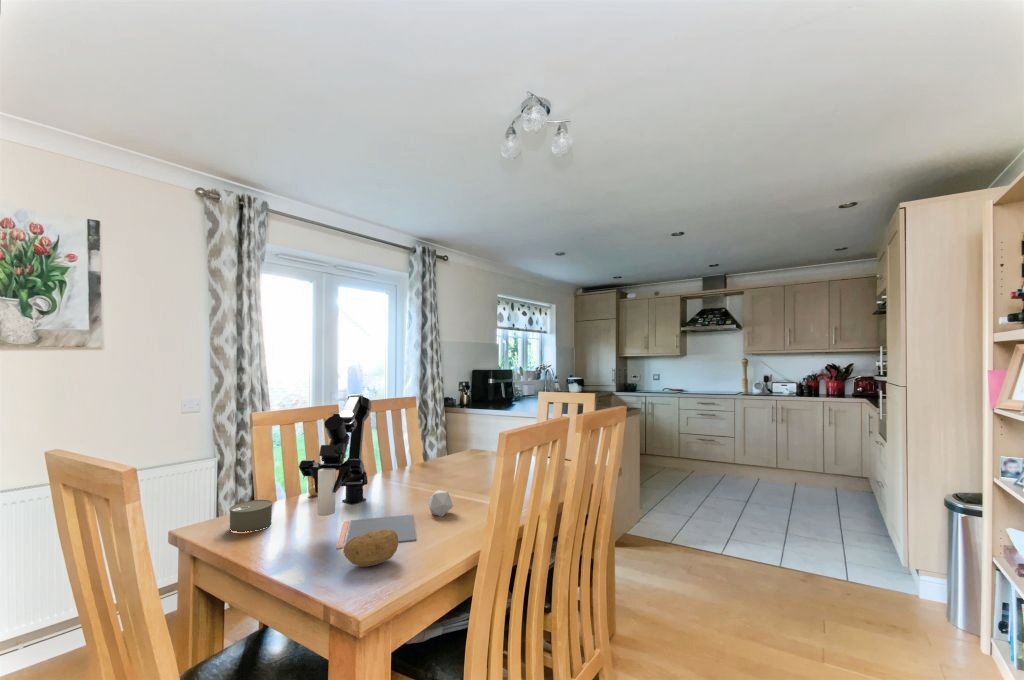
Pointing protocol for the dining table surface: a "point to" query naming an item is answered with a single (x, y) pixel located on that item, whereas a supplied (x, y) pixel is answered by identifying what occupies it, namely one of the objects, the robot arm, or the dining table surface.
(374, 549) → the potato
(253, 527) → the can
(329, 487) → the cream teardrop shape
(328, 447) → the robot arm
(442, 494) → the die
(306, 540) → the dining table surface
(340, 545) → the strip
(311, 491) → the figurine
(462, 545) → the dining table surface
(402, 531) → the mat
